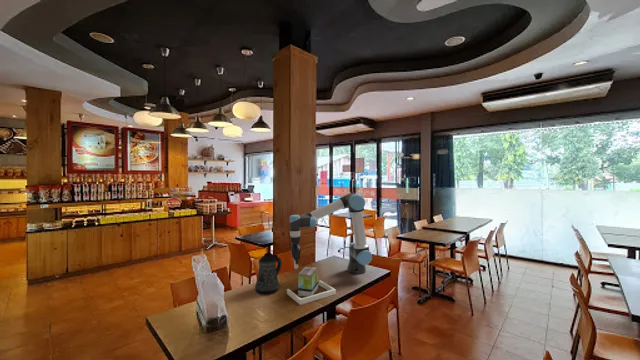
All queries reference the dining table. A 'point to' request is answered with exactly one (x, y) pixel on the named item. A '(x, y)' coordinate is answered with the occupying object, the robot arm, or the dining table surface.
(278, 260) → the beer stein
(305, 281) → the tea box
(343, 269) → the dining table surface
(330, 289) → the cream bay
